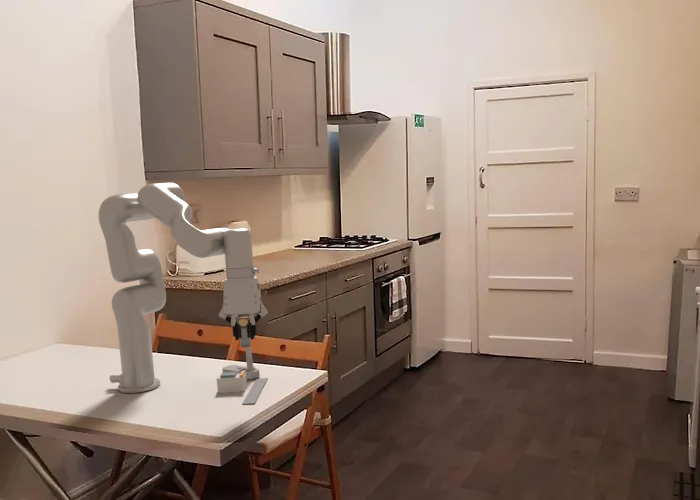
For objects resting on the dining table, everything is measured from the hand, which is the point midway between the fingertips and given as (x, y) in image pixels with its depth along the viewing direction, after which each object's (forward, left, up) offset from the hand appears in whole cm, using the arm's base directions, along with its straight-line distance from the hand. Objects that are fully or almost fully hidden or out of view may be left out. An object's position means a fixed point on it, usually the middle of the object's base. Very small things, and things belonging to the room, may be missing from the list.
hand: (245, 338), depth 193 cm
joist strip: (0, +10, -18) cm, 21 cm away
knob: (0, 0, -2) cm, 2 cm away
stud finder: (-8, +13, -19) cm, 24 cm away
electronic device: (-8, +27, -19) cm, 34 cm away
